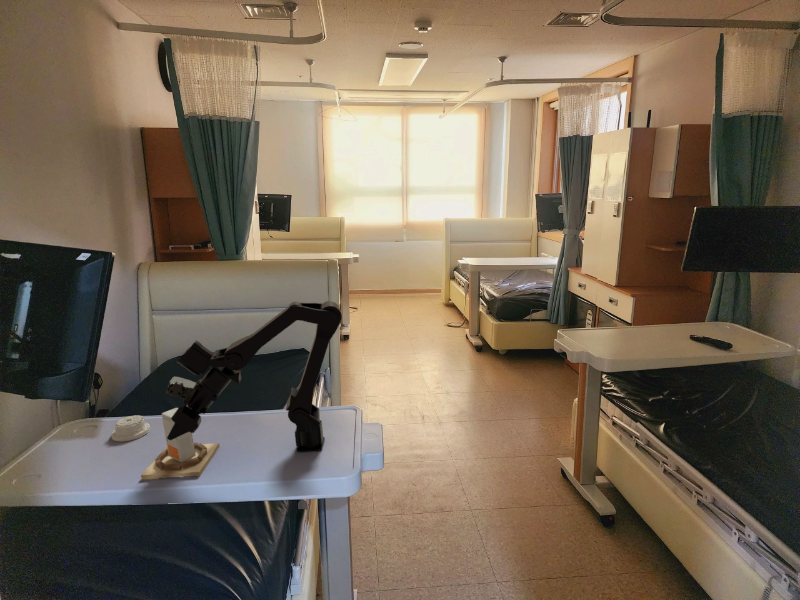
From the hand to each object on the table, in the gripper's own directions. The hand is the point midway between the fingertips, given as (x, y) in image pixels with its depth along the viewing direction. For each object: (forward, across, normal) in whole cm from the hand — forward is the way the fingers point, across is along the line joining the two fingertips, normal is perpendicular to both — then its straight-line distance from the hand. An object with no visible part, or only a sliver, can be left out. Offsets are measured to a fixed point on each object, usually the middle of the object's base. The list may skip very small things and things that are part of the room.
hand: (172, 432), depth 124 cm
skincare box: (+4, 0, +6) cm, 7 cm away
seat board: (+5, 0, +7) cm, 9 cm away
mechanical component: (+19, -22, -7) cm, 30 cm away
